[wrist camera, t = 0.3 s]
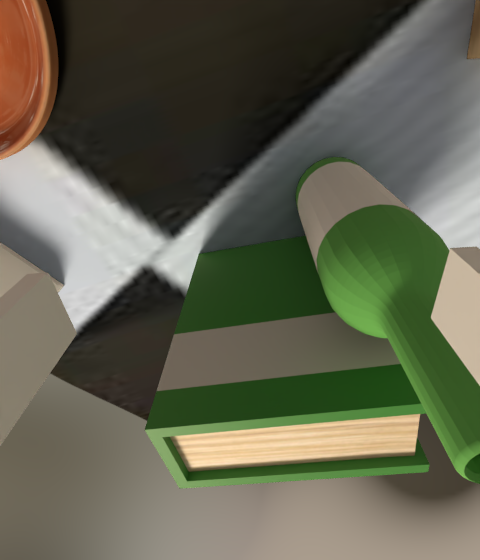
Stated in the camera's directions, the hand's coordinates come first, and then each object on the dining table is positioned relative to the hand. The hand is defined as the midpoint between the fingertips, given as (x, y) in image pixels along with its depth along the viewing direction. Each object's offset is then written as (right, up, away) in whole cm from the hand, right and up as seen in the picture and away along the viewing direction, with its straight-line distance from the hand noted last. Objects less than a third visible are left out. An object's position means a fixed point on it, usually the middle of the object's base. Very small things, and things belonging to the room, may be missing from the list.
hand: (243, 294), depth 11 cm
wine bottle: (+10, +10, +25) cm, 29 cm away
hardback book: (+4, +2, +31) cm, 31 cm away
